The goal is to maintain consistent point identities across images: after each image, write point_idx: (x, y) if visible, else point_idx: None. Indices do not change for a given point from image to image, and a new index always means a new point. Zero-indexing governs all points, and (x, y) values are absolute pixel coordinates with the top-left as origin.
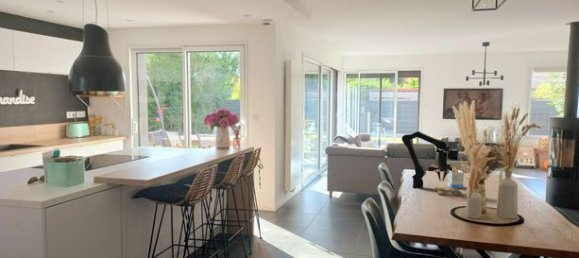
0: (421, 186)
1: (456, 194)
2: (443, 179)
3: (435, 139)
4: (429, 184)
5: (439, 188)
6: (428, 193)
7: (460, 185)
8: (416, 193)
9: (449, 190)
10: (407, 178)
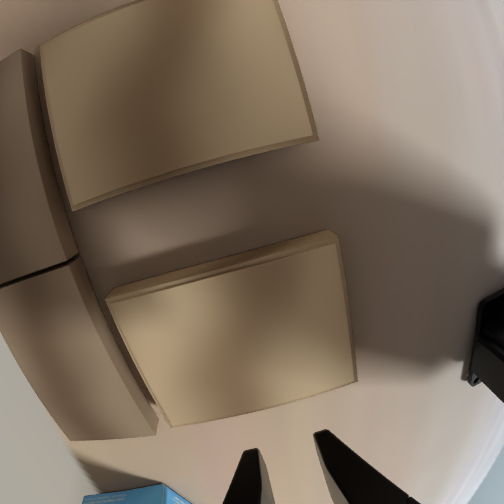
0: (493, 326)
1: (1, 66)
2: (247, 487)
3: None
4: None
5: (292, 340)
6: (407, 39)
7: None
8: (494, 17)
9: (115, 294)
10: (471, 495)
